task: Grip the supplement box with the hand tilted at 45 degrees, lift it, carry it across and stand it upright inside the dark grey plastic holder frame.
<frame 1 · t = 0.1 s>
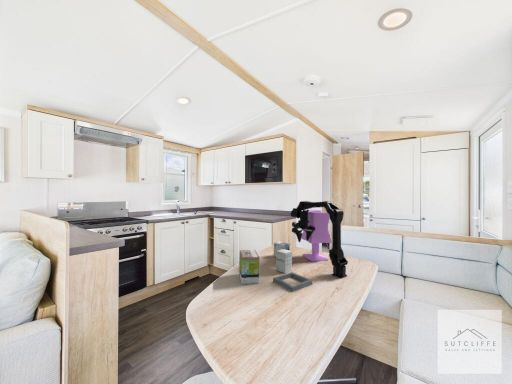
hand: (303, 241, 158), 15 cm above the table, tool pointing down, fingers open, 8 cm apart
supplement box: (283, 271, 143), on the table
tea box: (248, 278, 130), on the table
vase: (315, 258, 169), on the table, touching gripper
light bulb box: (281, 257, 171), on the table
holder frame: (292, 282, 125), on the table
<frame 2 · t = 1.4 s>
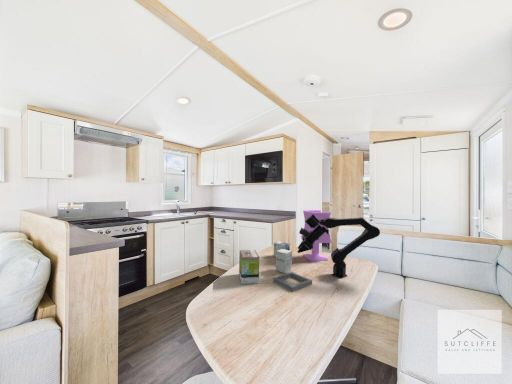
hand: (298, 250, 141), 13 cm above the table, tool tilted 45°, fingers open, 9 cm apart
vase: (315, 258, 169), on the table
everything else where it was.
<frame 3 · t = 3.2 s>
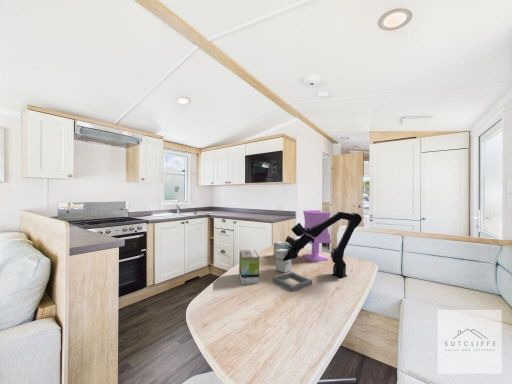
hand: (283, 258, 143), 8 cm above the table, tool tilted 45°, fingers open, 9 cm apart
supplement box: (283, 270, 143), on the table, touching gripper
everything else where it was.
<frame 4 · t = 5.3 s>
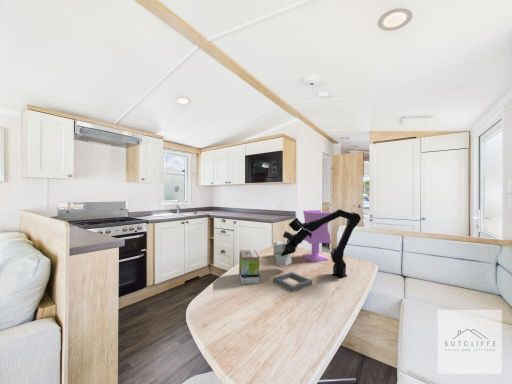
hand: (282, 253, 143), 11 cm above the table, tool tilted 45°, fingers closed on supplement box, 9 cm apart
supplement box: (284, 264, 142), point 4 cm above the table, touching gripper
everything else where it was.
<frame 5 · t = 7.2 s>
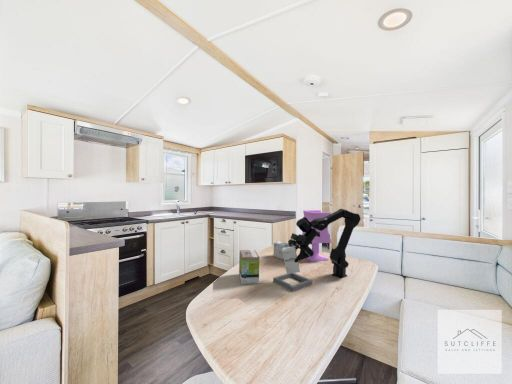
hand: (290, 259, 124), 13 cm above the table, tool tilted 45°, fingers closed on supplement box, 9 cm apart
supplement box: (293, 271, 124), point 7 cm above the table, touching gripper
everything else where it was.
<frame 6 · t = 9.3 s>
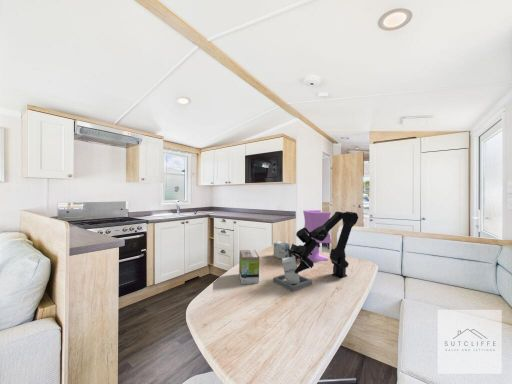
hand: (290, 269, 124), 7 cm above the table, tool tilted 45°, fingers closed on supplement box, 9 cm apart
supplement box: (293, 282, 124), point 1 cm above the table, touching gripper
everything else where it was.
when the fingers open (7 cm above the table, at t = 10.7 s): supplement box stays where it is, resting in holder frame.
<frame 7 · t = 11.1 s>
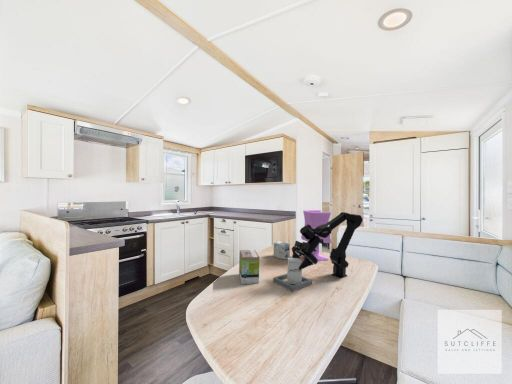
hand: (294, 266, 125), 9 cm above the table, tool tilted 45°, fingers open, 9 cm apart
supplement box: (294, 282, 125), resting in holder frame, touching gripper
everything else where it was.
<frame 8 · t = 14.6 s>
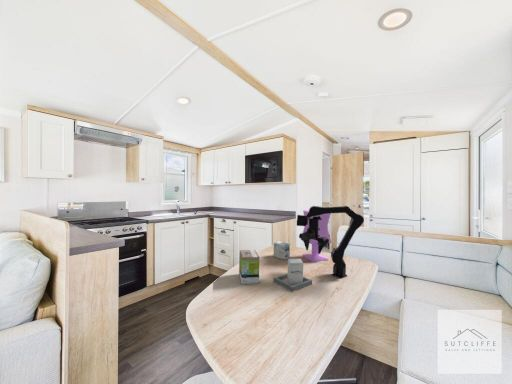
hand: (313, 251, 140), 13 cm above the table, tool pointing down, fingers open, 9 cm apart
supplement box: (294, 283, 125), resting in holder frame
everything else where it was.
at the end: supplement box inside the target area on the holder frame (1.3 cm from its centre), point 0.0 cm above the holder frame's base; supplement box tilted 0°; the gripper is holding nothing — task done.
